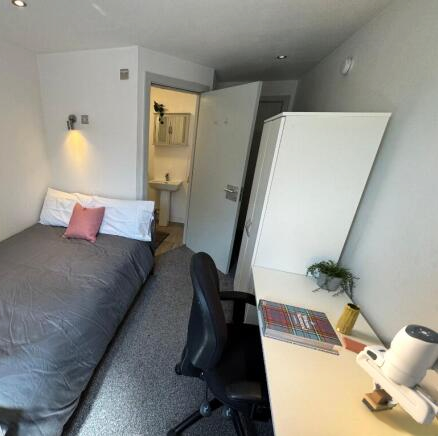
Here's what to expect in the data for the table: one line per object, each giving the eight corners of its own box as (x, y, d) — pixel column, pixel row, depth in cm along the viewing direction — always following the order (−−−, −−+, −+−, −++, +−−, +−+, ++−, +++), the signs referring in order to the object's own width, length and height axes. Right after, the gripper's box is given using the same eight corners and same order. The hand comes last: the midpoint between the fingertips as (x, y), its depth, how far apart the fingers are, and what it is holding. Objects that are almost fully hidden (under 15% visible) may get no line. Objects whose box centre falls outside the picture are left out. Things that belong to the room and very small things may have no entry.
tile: (365, 346, 102) (366, 344, 101) (368, 357, 97) (370, 355, 97) (342, 338, 106) (343, 336, 105) (345, 348, 101) (346, 346, 100)
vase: (349, 328, 111) (360, 305, 106) (352, 337, 106) (363, 313, 101) (334, 322, 114) (344, 300, 109) (335, 331, 109) (346, 307, 104)
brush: (380, 397, 81) (388, 385, 79) (392, 410, 77) (401, 398, 75) (360, 400, 80) (368, 387, 77) (372, 413, 76) (380, 400, 74)
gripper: (453, 405, 63) (428, 434, 68) (375, 341, 82) (360, 368, 87) (434, 408, 62) (410, 437, 67) (360, 343, 81) (346, 369, 86)
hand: (382, 398), depth 77 cm, fingers closed on brush, 2 cm apart
